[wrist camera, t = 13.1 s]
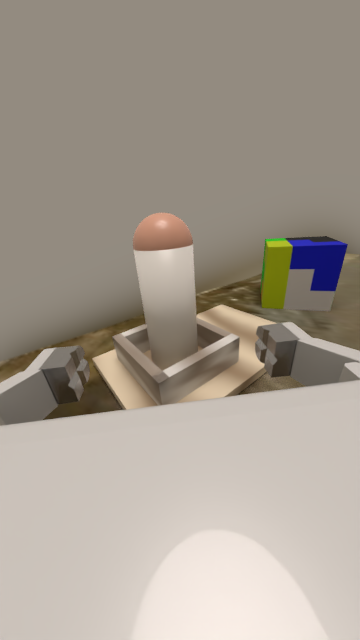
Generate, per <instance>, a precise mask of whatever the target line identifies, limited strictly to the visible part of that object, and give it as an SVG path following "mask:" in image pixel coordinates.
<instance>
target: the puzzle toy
mask: <svg viewBox="0 0 360 640" xmlns="http://www.w3.org/2000/svg"><path fill="white" fill-rule="evenodd" d="M346 248H347V244H345V243H342V242H340V241H337V240H334V239H332V238H329V237H327V236H325V237H303V238H280V239H265V251H264V259H263V271H262V280H261V301H262V308H274V309H295V310H316V311H330V310H331V306H332V302H333V298H334V294H335V291H336V287H337V283H338V279H339V275H340V272H341V268H342V264H343V260H344V256H345V252H346Z"/></svg>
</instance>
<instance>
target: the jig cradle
mask: <svg viewBox="0 0 360 640" xmlns="http://www.w3.org/2000/svg"><path fill="white" fill-rule="evenodd" d="M196 320H197V340H198V352H197V353H195V354H193V355H191V356H189V357H187V358H185V359H184V360H182V361H180V362H178V363H176V364H174V365H173V366H171V367H169V368H167V369H165V370H163V371H162V370H161V369H160V368H159V367H158V366H156V365H155V364H154V363H153V362H152V356H151V350H150V344H149V338H148V332H147V326H146V324H144V325H142V326H139V327H136V328H134V329H131V330H128V331H126V332H123V333H121V334H118V335H115V336H113V337H112V338H113V342H114V346H115V349H114V350H112V351H109V352H107V353H105V354H102V355H100V356H97V357H95V358H93V362H94V365H95V367H96V368H97V370H98V371H99V373H100V375H101V376H102V378H103V379H104V381H105V382H106V384H107V385H108V387H109V388H110V390H111V391H112V393H113V394H114V396H115V397H116V399H117V400H118V402H119V404H120V405H121V407H122V408H123V410H127V409H135V408H143V407H151V406H159V405H167V404H174V403H182V402H190V401H198V400H206V399H214V398H222V397H229V396H236V395H238V394H239V393H240V392H241V391H243V390H244V389H245V388H247V387H248V386H249V385H250V384H252V383H253V382H254V381H255V380H257V379H258V378H259V377H261V376H262V375H263V374H264V373H266V372H267V371H266V369H265V368H264V365H265V364H264V363H262V362H260V361H259V359H258V358H257V356H256V352H255V342H256V341H257V340H258V339H259V337H258V336H257V335H256V331H257V328H258V326H263V325H270V324H277V323H274V322H271V321H268V320H265V319H262V318H260V317H257V316H254V315H251V314H248V313H245V312H242V311H239V310H236V309H233V308H230V307H228V306H225V305H219V306H217V307H215V308H212V309H210V310H207V311H205V312H203V313H200V314H198V315H196Z"/></svg>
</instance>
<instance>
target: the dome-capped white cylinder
mask: <svg viewBox="0 0 360 640" xmlns="http://www.w3.org/2000/svg"><path fill="white" fill-rule="evenodd" d="M133 250H134V256H135V261H136V267H137V273H138V279H139V285H140V291H141V296H142V303H143V309H144V314H145V320H146V326H147V332H148V338H149V344H150V350H151V356H152V362H153V363H154V364H155V365H156V366H158V367H159V368H160V369H161V370H162V371H163V370H165V369H167V368H169V367H171V366H173V365H174V364H176V363H178V362H180V361H182V360H184V359H185V358H187V357H189V356H191V355H193V354H195V353H197V352H198V340H197V320H196V299H195V279H194V258H193V241H192V236H191V233H190V231H189V229H188V227H187V226H186V224H185V223H184V222H183V221H182V220H181V219H180V218H178V217H176V216H174V215H172V214H169V213H155V214H152V215H150V216H148V217H147V218H145V219H144V220H143V221H142V222H141V223H140V224H139V225H138V227H137V229H136V231H135V234H134V238H133Z"/></svg>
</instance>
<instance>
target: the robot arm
mask: <svg viewBox="0 0 360 640" xmlns="http://www.w3.org/2000/svg"><path fill="white" fill-rule="evenodd" d="M256 335H257V336H258V337H259V339H258V340H257V341H256V342H255V352H256V356H257V358H258V359H259V361H260V362H262V363H264V364H265V365H264V368H265V369H266V371H267V372H268V374H269V375H270V376H271V377H281V376H290V377H292V378H294V379H295V380H297V381H299V382H300V383H302V384H303V385H305V386H307V387H300V388H292V389H284V390H276V391H269V392H261V393H253V394H245V395H237V396H229V397H222V398H214V399H206V400H198V401H190V402H182V403H174V404H167V405H159V406H151V407H143V408H135V409H127V410H119V411H112V412H104V413H96V414H88V415H80V416H72V417H64V418H57V419H49V420H43V419H44V418H45V417H46V416H47V415H48V414H49V413H50V412H51V411H53V410H54V409H55V408H56V407H57V406H58V404H64V403H71V402H77V401H79V399H80V397H81V395H82V393H83V390H84V389H83V385H84V384H85V383H87V381H88V379H89V372H90V370H89V365H88V362H87V361H86V360H85V359H83V357H84V354H85V353H84V350H83V348H82V347H81V346H71V347H60V348H50V349H45V350H43V351H42V352H41V353H40V354H39V356H38V357H37V358H36V359H35V360H34V361H33V362H32V363H31V365H30V366H29V367H28V368H27V369H26V370H25V371H24V372H20V373H18V374H16V375H14V376H12V377H10V378H9V379H7V380H5V381H3V382H1V383H0V640H360V351H358V350H354V349H351V348H348V347H344V346H341V345H338V344H334V343H331V342H328V341H325V340H321V339H318V338H312V337H310V336H309V335H308V334H307V333H305V332H304V331H303V330H301V329H300V328H299V327H297V326H296V325H295V324H294V323H292V322H285V323H277V324H270V325H263V326H258V328H257V331H256Z"/></svg>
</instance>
